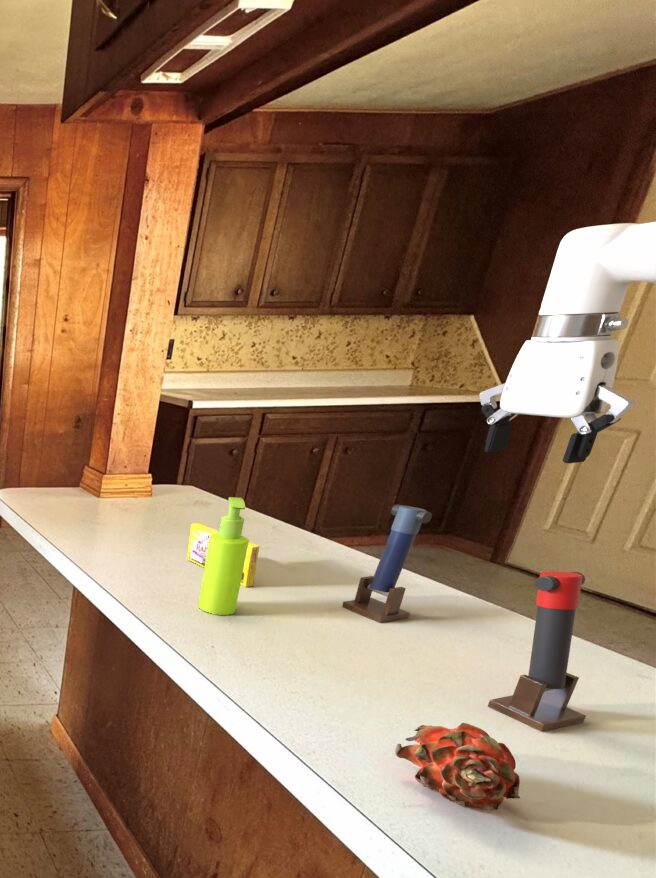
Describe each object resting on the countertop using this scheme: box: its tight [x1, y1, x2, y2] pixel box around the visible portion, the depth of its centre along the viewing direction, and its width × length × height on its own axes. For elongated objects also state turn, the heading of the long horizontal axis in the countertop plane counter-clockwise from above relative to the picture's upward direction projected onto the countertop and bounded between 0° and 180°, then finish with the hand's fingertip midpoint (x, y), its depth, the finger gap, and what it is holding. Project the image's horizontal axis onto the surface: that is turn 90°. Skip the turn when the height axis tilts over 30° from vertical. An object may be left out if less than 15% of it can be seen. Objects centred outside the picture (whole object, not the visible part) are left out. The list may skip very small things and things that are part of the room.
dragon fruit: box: [394, 722, 521, 811], centre depth 70 cm, size 8×8×12 cm
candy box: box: [186, 522, 260, 588], centre depth 131 cm, size 16×2×8 cm, turn 14°
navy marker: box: [367, 503, 433, 598], centre depth 109 cm, size 15×5×4 cm
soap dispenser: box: [197, 496, 250, 616], centre depth 113 cm, size 6×7×20 cm
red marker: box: [527, 570, 586, 691], centre depth 81 cm, size 15×5×4 cm
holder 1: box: [341, 575, 411, 624], centre depth 112 cm, size 6×7×6 cm
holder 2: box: [487, 672, 587, 732], centre depth 83 cm, size 6×7×6 cm
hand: (532, 456), depth 94 cm, fingers open, 9 cm apart
